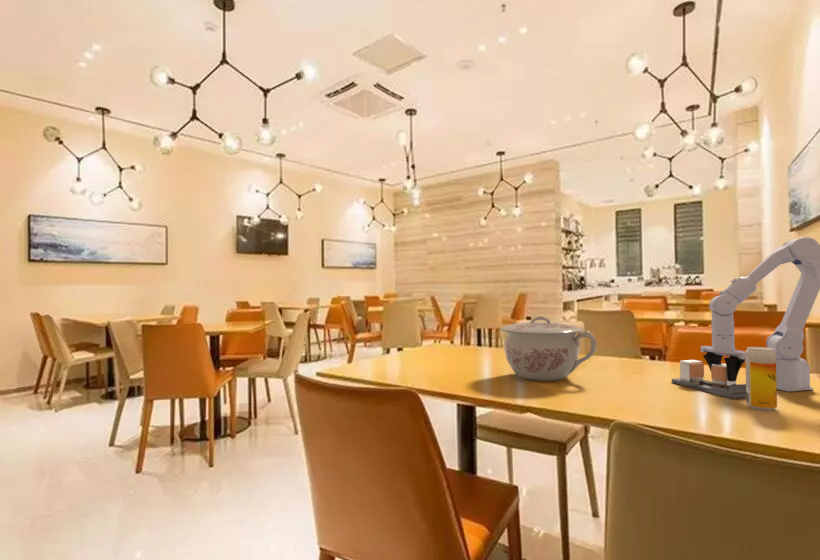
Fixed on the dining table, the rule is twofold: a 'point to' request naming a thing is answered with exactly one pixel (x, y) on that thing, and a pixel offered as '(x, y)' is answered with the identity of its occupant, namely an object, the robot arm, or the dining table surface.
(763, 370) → the beer can
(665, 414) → the dining table surface
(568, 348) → the chamber pot
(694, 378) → the rail
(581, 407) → the dining table surface
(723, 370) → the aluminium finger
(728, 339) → the robot arm
